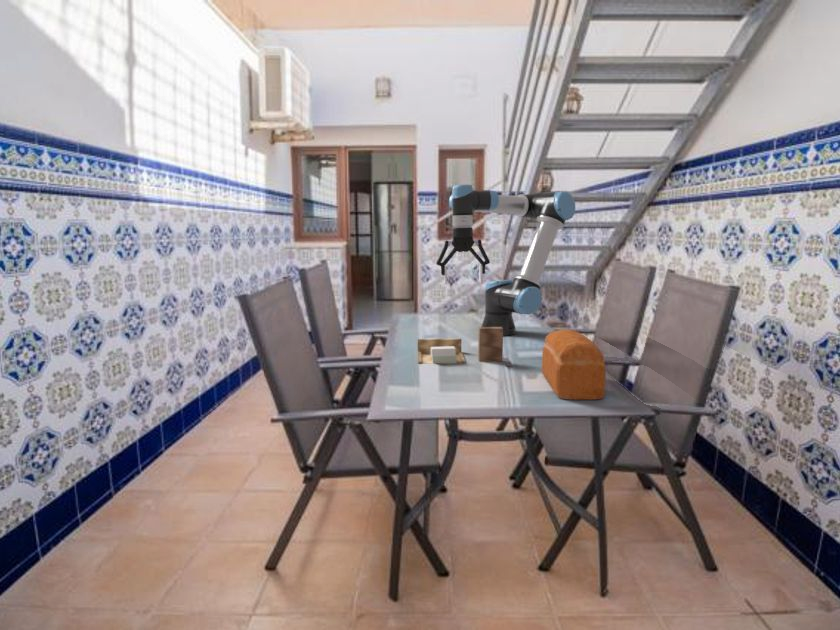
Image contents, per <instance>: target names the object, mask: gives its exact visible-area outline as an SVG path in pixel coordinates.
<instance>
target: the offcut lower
mask: <svg viewBox="0 0 840 630" xmlns="http://www.w3.org/2000/svg"><path fill="white" fill-rule="evenodd" d="M456 359H457V356H456V353H455V356H433V363H449V364H457V363H456Z"/></svg>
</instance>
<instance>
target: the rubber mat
mask: <svg viewBox="0 0 840 630" xmlns="http://www.w3.org/2000/svg"><path fill="white" fill-rule="evenodd" d="M501 362H502V363H503V365H504V366H505V367H514V365H513V364H512V362H511V361H510V359H509V358H508V357H503V358H502V361H501Z"/></svg>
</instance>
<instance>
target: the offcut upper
mask: <svg viewBox="0 0 840 630" xmlns="http://www.w3.org/2000/svg"><path fill="white" fill-rule="evenodd" d="M431 355H432V356H455V347H454V346H442V347H431Z"/></svg>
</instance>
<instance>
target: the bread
mask: <svg viewBox="0 0 840 630" xmlns="http://www.w3.org/2000/svg"><path fill="white" fill-rule="evenodd" d="M544 343H545V344H544V345H543V347H542V357H541V358H542V359H541V373H542V375H543V377H544V378H545V380H546V381H547V383H548V384H549V386H550V387H551V389H552V390H553V392H554V394H556V396H557V397H558V398H559V399H561V400H562V399H563V400H564V399H565V400H573V399H574V400H579V401H582V400H583V401H585V400H586V401H589V400H601V399H602V398H604V396H605V390H606V389H605V388H606V374H607V372H606V369H607V368H606V364H605V362H604V361H605V359H604V358H605V355H604V354H603V353H602V352H601V351H602V350H600V348H599V347H598V346H597V345H596V344H595V343H594V342H593V341H592V340H591V339H590V338H588V337H587V336H586V335H584V334H582V333H581V332H578V331H576V330H573V329H558V330H554V331H552V332H550V333H548V334H547V335H546V336H545V339H544Z"/></svg>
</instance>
